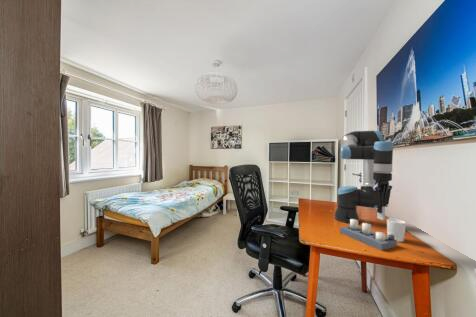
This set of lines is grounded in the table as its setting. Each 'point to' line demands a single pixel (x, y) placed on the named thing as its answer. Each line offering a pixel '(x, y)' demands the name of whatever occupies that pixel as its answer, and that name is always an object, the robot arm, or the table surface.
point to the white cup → (396, 229)
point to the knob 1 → (353, 224)
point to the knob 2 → (380, 236)
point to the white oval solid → (366, 228)
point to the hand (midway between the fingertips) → (380, 219)
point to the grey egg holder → (369, 238)
